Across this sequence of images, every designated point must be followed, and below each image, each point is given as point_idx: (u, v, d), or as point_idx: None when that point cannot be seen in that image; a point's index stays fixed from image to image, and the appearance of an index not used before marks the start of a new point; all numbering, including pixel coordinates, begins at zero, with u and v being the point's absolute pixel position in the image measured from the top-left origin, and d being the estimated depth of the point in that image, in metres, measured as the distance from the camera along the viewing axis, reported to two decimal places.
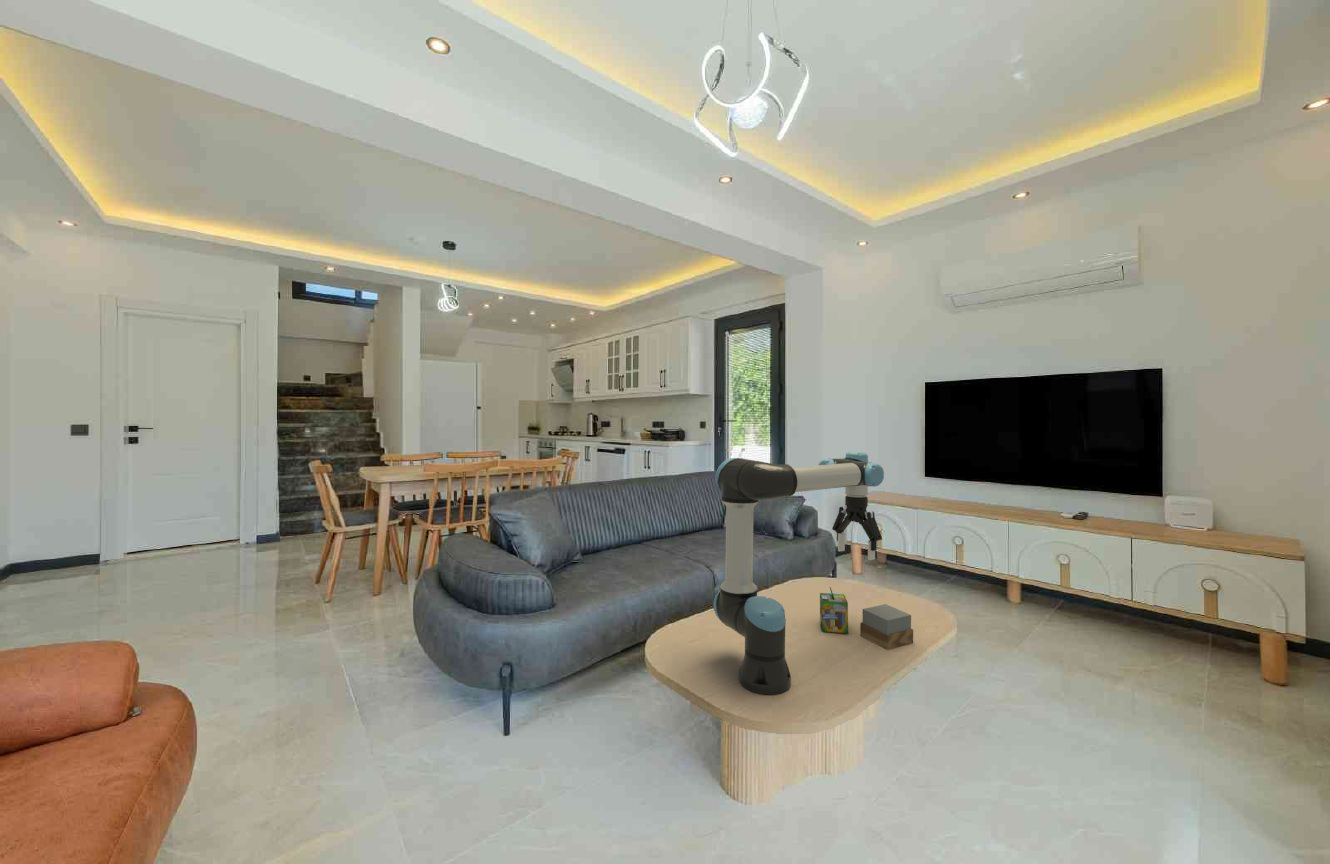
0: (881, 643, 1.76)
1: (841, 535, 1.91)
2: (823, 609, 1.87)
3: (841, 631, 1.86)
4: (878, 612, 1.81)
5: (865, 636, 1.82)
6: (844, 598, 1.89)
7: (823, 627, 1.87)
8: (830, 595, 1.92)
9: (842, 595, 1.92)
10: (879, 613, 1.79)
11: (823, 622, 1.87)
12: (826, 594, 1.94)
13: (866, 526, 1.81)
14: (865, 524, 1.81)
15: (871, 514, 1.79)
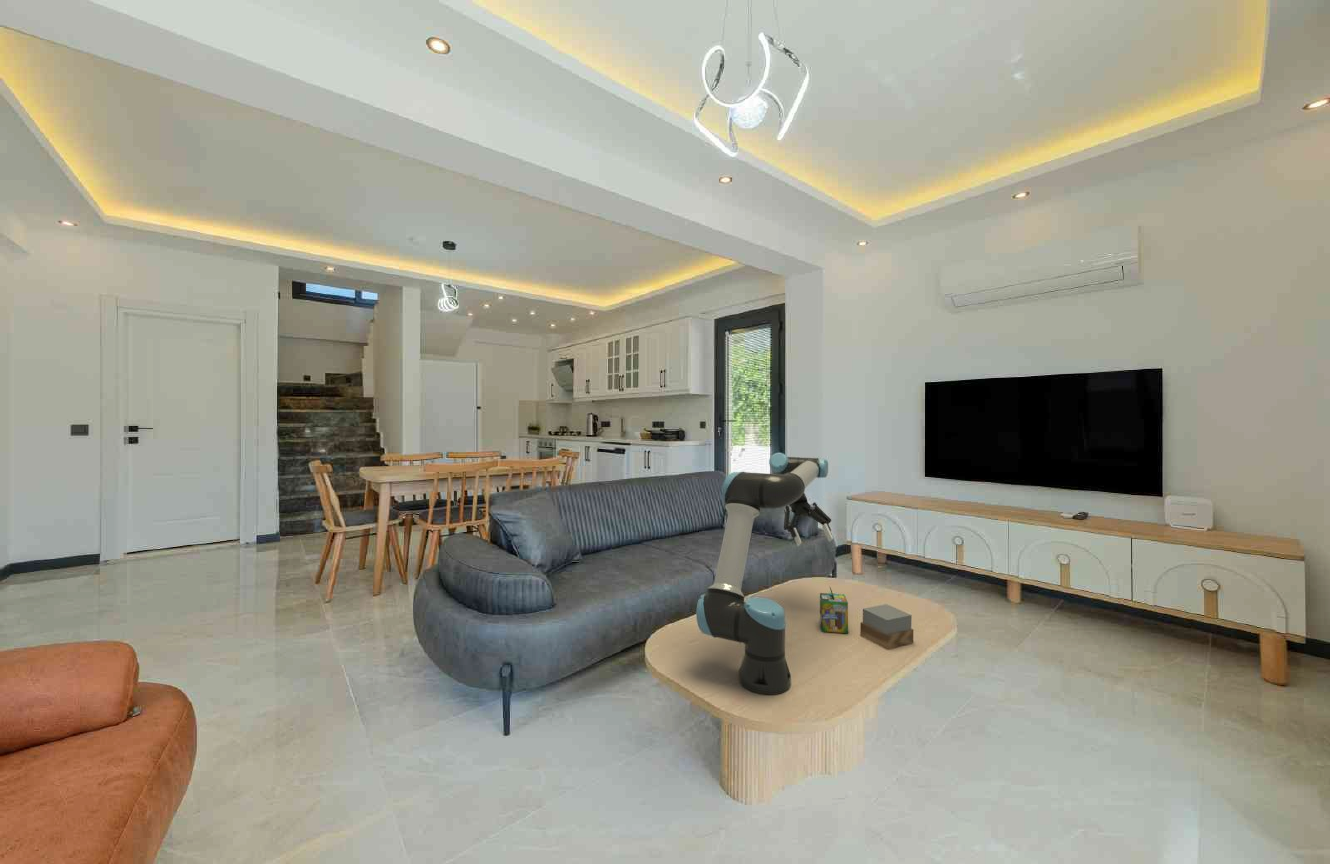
0: (881, 643, 1.76)
1: None
2: (823, 609, 1.87)
3: (841, 631, 1.86)
4: (878, 612, 1.81)
5: (865, 636, 1.82)
6: (844, 598, 1.89)
7: (823, 627, 1.87)
8: (830, 595, 1.92)
9: (842, 595, 1.92)
10: (879, 613, 1.79)
11: (823, 622, 1.87)
12: (826, 594, 1.94)
13: None
14: None
15: None
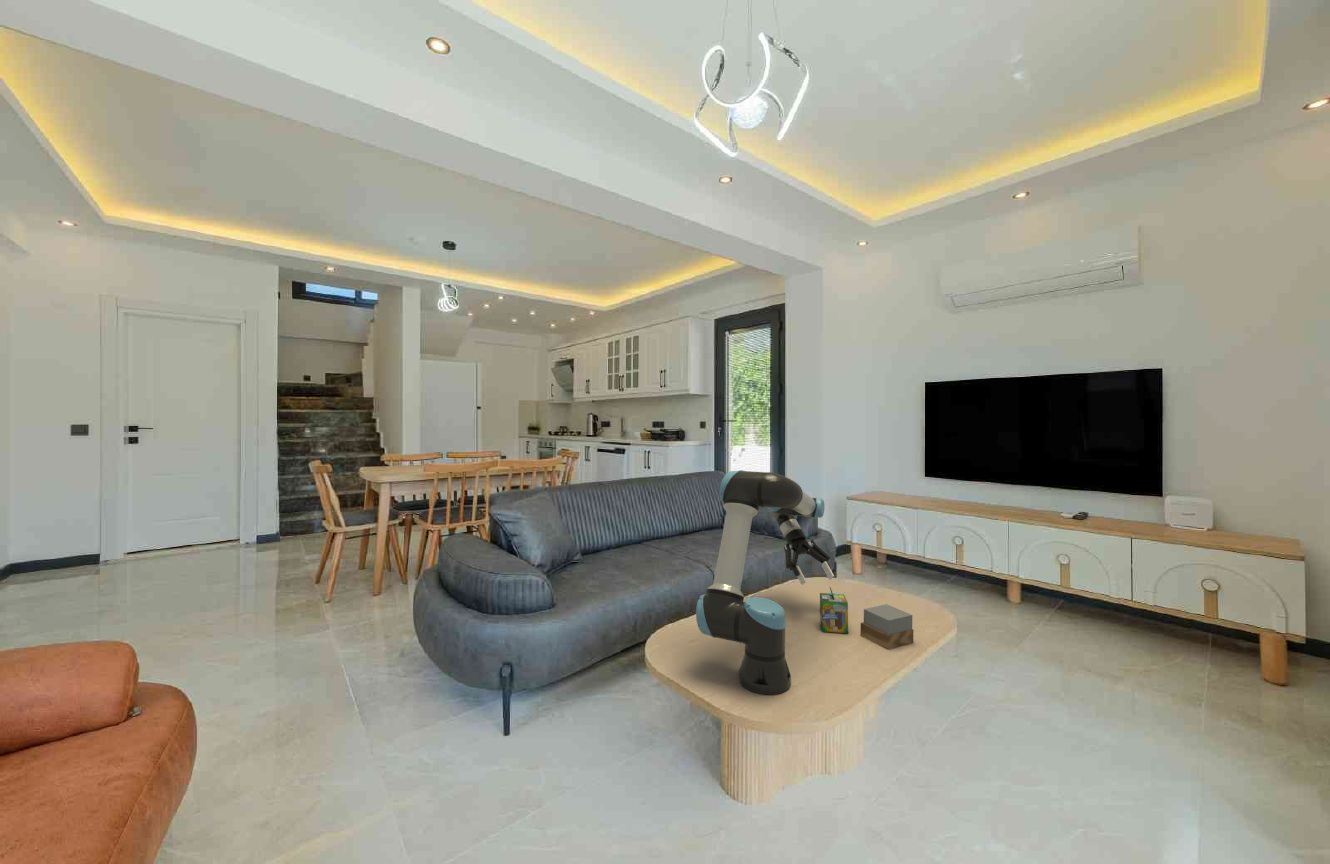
0: (881, 643, 1.76)
1: None
2: (823, 609, 1.87)
3: (841, 631, 1.86)
4: (879, 612, 1.81)
5: (865, 636, 1.82)
6: (844, 598, 1.89)
7: (823, 627, 1.87)
8: (830, 595, 1.92)
9: (842, 595, 1.92)
10: (880, 613, 1.79)
11: (823, 622, 1.87)
12: (826, 594, 1.94)
13: None
14: None
15: None
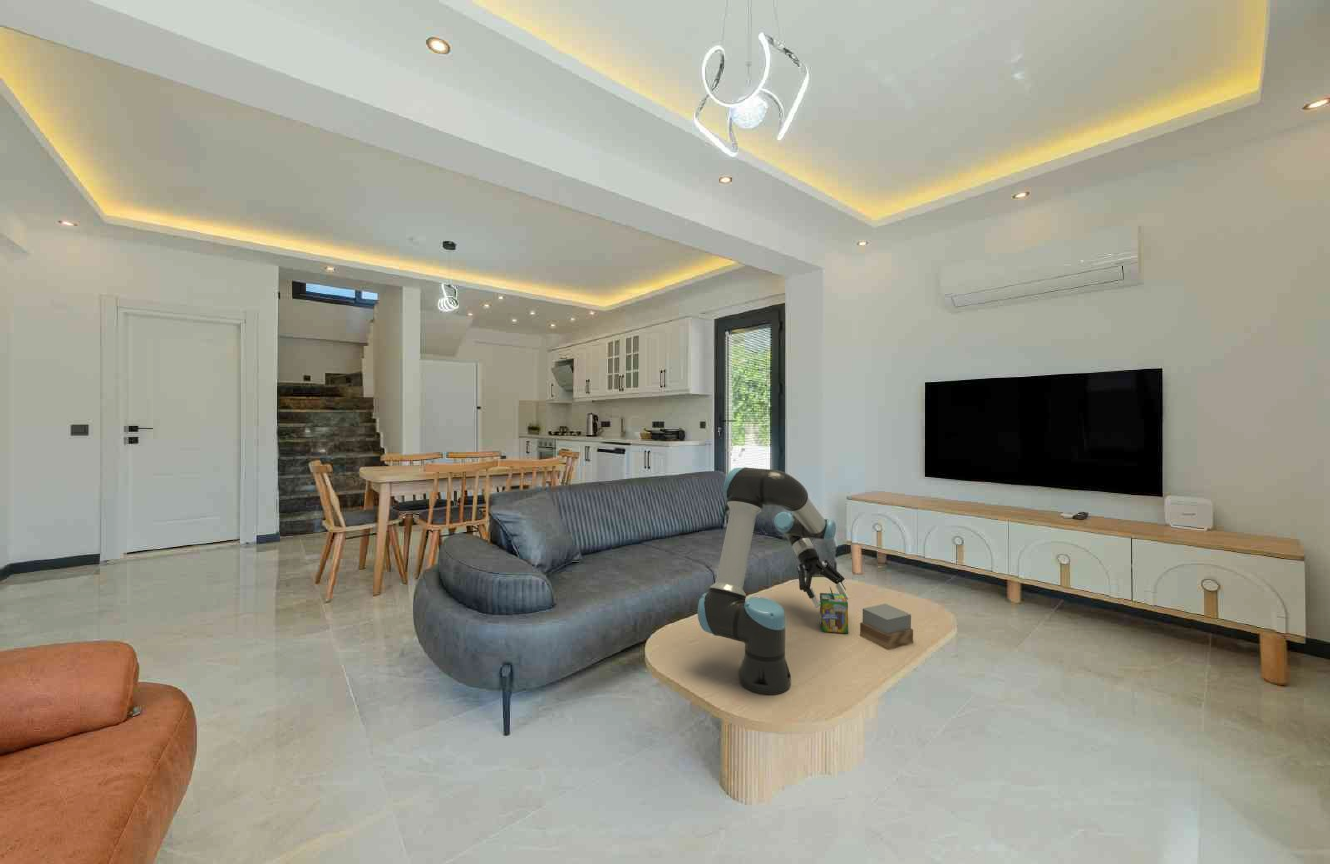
0: (881, 643, 1.76)
1: None
2: (823, 609, 1.87)
3: (841, 631, 1.86)
4: (878, 612, 1.81)
5: (865, 636, 1.82)
6: (844, 598, 1.89)
7: (823, 627, 1.87)
8: (830, 595, 1.92)
9: (842, 595, 1.92)
10: (879, 613, 1.80)
11: (823, 622, 1.87)
12: (826, 594, 1.93)
13: None
14: None
15: None
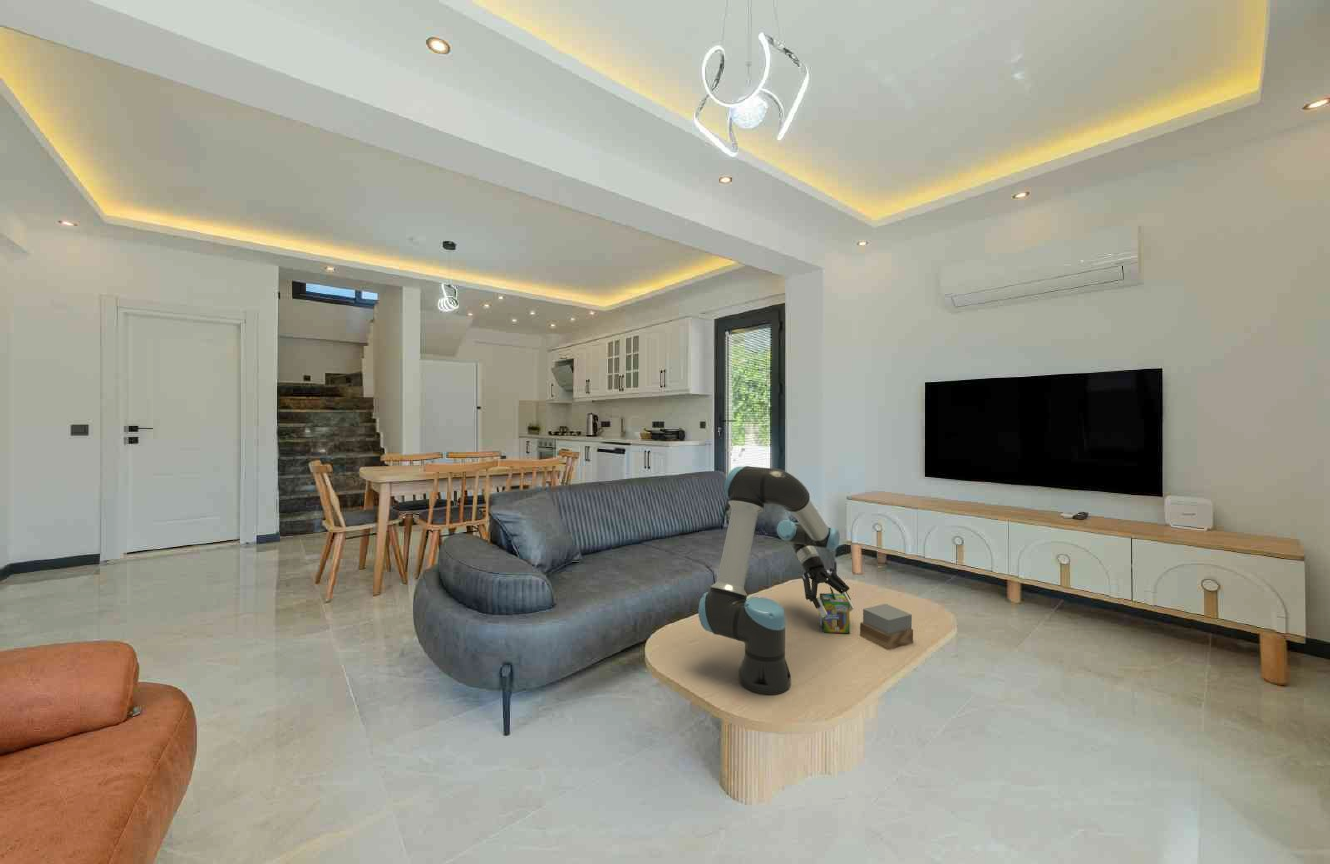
0: (881, 643, 1.76)
1: None
2: None
3: (843, 631, 1.86)
4: (879, 612, 1.81)
5: (865, 636, 1.82)
6: (845, 598, 1.89)
7: (825, 628, 1.87)
8: (830, 595, 1.92)
9: (842, 595, 1.92)
10: (880, 613, 1.80)
11: (825, 623, 1.87)
12: (826, 594, 1.93)
13: None
14: None
15: None
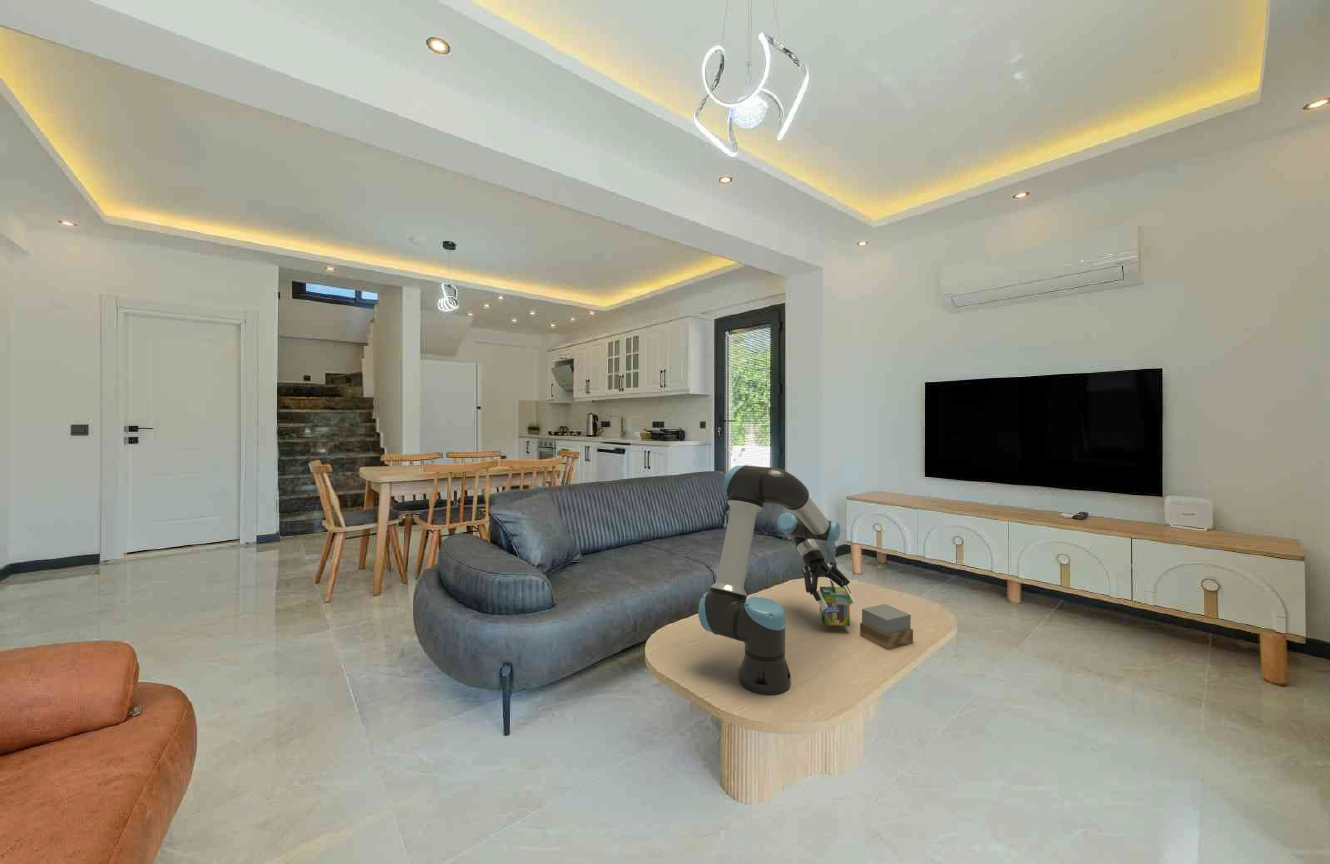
0: (881, 643, 1.76)
1: None
2: None
3: (843, 624, 1.86)
4: (877, 612, 1.81)
5: (865, 636, 1.82)
6: (845, 591, 1.89)
7: (825, 620, 1.87)
8: (831, 588, 1.92)
9: (842, 588, 1.93)
10: (878, 613, 1.80)
11: (825, 615, 1.87)
12: (826, 587, 1.93)
13: None
14: None
15: None
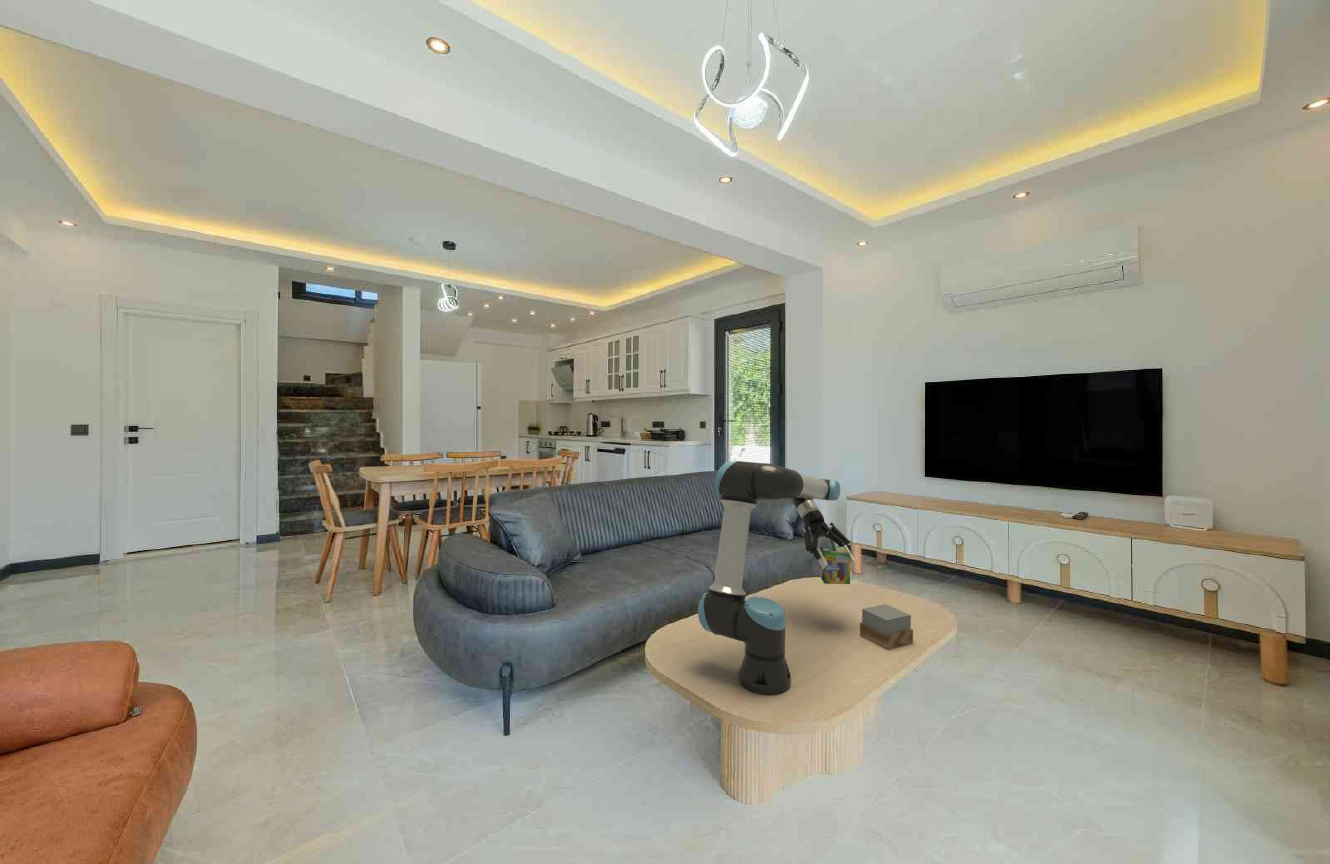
0: (881, 643, 1.76)
1: None
2: None
3: (843, 582, 1.85)
4: (878, 612, 1.81)
5: (865, 636, 1.82)
6: (845, 550, 1.88)
7: (825, 579, 1.86)
8: (831, 548, 1.91)
9: (842, 547, 1.92)
10: (879, 613, 1.80)
11: (825, 574, 1.86)
12: (827, 547, 1.92)
13: None
14: None
15: None
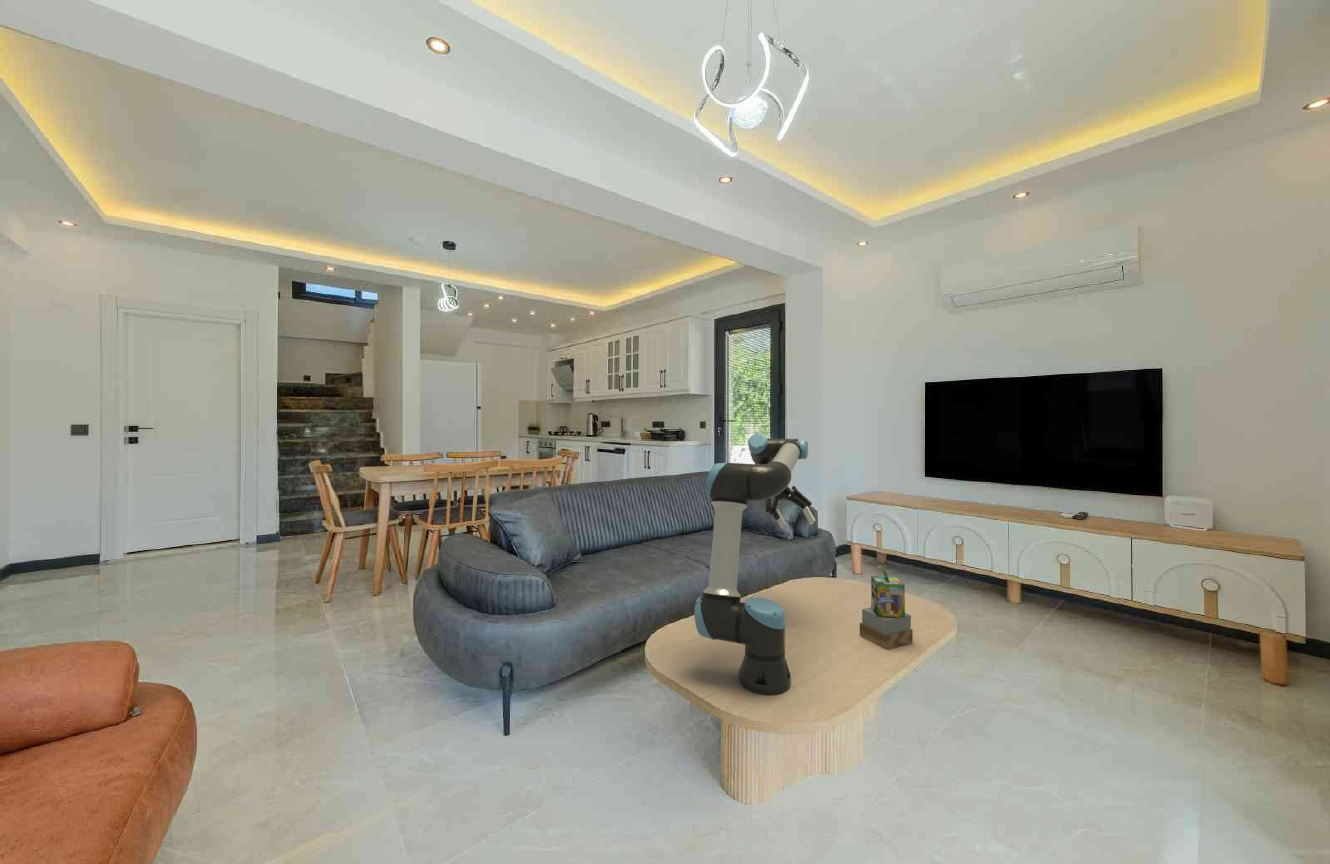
0: (880, 643, 1.76)
1: None
2: (878, 592, 1.77)
3: (898, 615, 1.76)
4: None
5: (864, 636, 1.82)
6: (899, 580, 1.79)
7: (878, 611, 1.77)
8: (883, 578, 1.82)
9: (896, 578, 1.82)
10: None
11: (878, 606, 1.77)
12: (879, 577, 1.83)
13: None
14: None
15: None
